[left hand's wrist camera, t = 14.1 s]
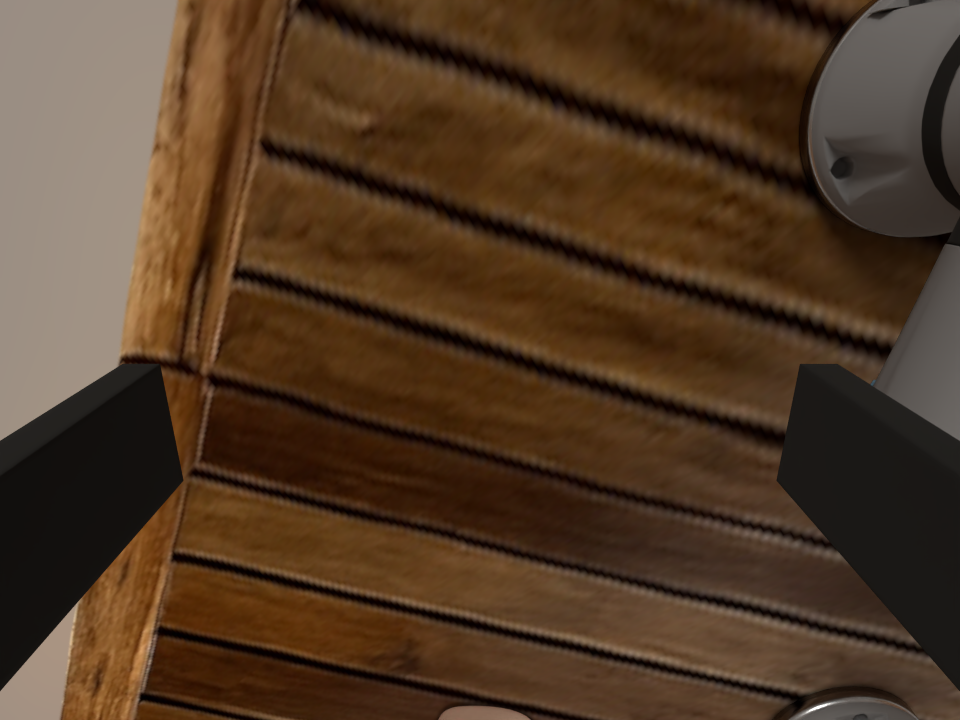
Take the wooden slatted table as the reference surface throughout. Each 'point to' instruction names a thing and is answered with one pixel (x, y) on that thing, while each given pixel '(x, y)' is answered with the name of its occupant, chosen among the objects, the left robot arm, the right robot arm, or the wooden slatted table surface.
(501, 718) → the anatomical model
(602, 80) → the wooden slatted table surface
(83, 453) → the left robot arm
